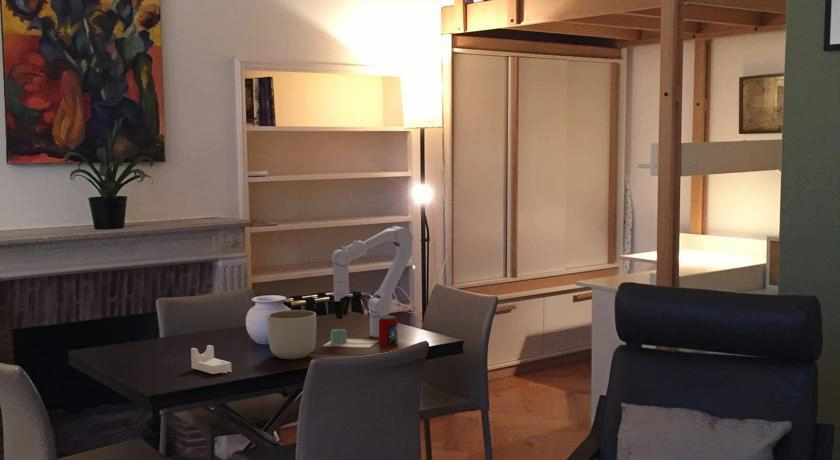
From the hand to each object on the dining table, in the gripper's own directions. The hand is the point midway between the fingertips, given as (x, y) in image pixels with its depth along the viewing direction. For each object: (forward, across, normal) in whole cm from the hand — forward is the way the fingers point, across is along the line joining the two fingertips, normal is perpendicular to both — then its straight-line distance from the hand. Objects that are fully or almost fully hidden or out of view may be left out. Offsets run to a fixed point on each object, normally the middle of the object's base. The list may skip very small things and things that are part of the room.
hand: (341, 317), depth 361 cm
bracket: (+10, +51, -32) cm, 61 cm away
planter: (+10, +27, -11) cm, 31 cm away
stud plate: (+9, +8, +5) cm, 13 cm away
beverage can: (+10, +12, +20) cm, 25 cm away
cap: (+8, +7, 0) cm, 11 cm away
